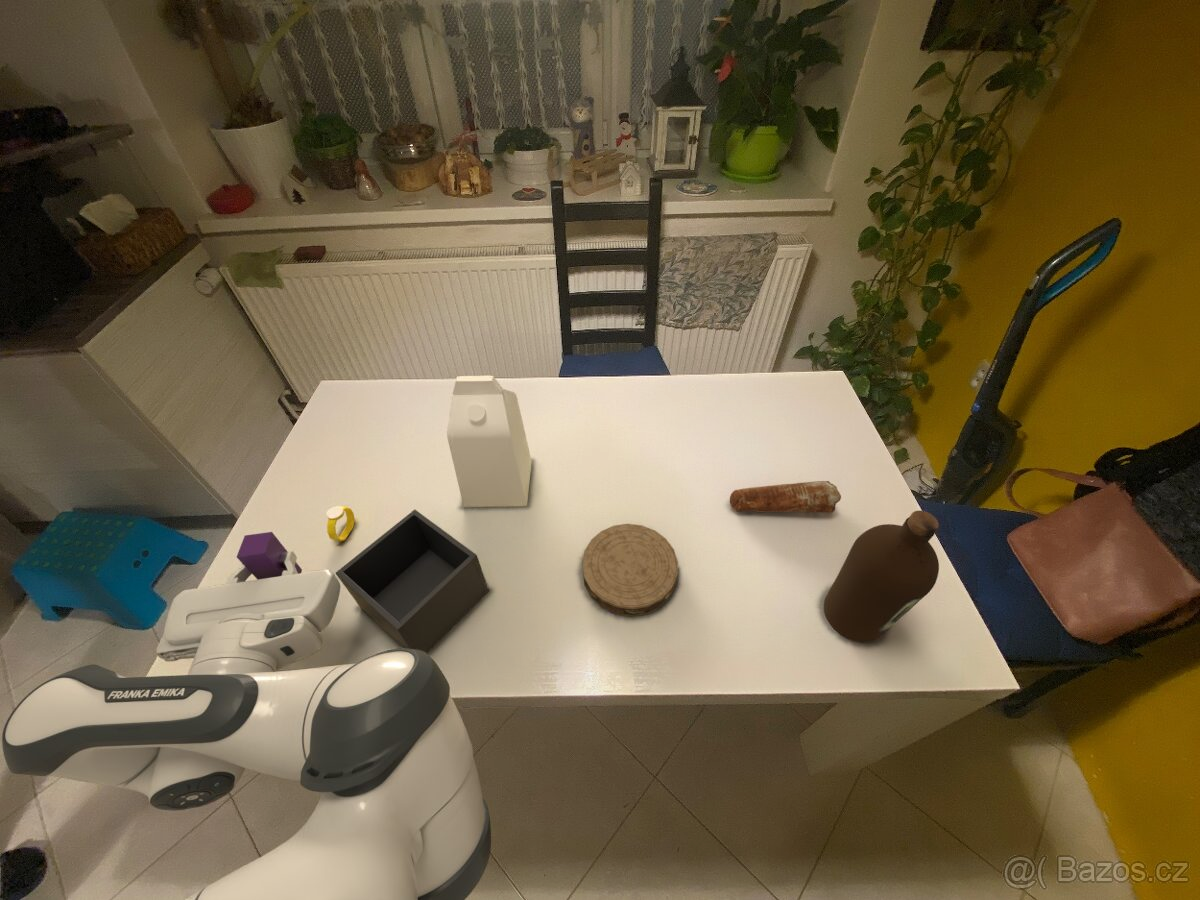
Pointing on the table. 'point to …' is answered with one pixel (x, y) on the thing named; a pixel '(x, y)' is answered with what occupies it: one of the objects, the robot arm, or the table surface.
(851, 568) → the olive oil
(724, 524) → the table surface
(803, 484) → the bread
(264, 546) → the purple rectangular block
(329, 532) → the watch
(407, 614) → the waste bin
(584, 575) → the wood slice coaster
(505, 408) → the milk
